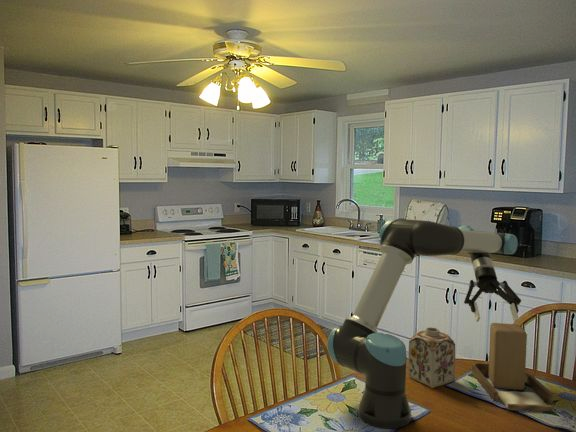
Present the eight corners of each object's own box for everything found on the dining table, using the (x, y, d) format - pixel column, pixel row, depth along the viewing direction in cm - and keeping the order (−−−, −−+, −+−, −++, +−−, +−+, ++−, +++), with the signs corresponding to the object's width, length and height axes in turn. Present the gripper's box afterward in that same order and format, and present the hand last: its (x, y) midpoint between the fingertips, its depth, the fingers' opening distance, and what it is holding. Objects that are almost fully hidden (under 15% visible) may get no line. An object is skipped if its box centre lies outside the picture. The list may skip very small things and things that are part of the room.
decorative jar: (429, 370, 177) (431, 322, 176) (455, 381, 168) (457, 331, 166) (406, 376, 171) (407, 327, 170) (431, 389, 161) (433, 336, 160)
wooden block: (518, 379, 170) (520, 323, 168) (525, 391, 160) (527, 332, 158) (487, 376, 172) (489, 321, 170) (493, 388, 162) (495, 330, 161)
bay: (500, 409, 147) (500, 397, 147) (471, 372, 175) (471, 362, 175) (561, 411, 146) (561, 399, 146) (522, 374, 174) (522, 363, 174)
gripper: (514, 277, 191) (529, 326, 177) (450, 276, 192) (459, 324, 178) (520, 266, 185) (536, 315, 171) (454, 265, 186) (464, 314, 173)
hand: (497, 320), depth 175 cm, fingers open, 13 cm apart
